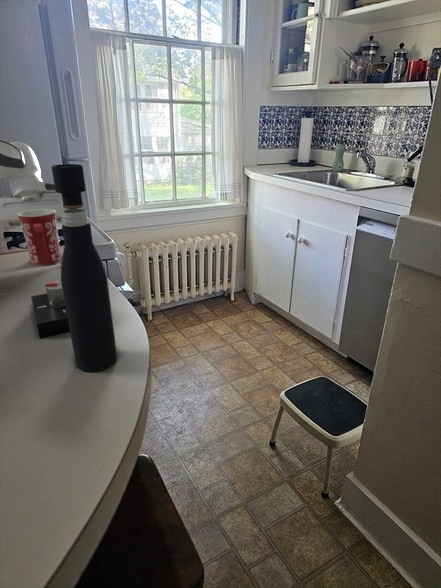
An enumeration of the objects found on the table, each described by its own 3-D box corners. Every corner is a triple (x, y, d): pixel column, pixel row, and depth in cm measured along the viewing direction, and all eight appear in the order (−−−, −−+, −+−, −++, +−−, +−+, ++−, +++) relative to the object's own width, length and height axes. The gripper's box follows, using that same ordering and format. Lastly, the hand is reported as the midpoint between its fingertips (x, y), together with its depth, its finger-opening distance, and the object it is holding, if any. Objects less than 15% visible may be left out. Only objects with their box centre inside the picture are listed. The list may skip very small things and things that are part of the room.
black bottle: (101, 376, 59) (70, 169, 47) (66, 367, 61) (28, 167, 49) (125, 354, 65) (103, 164, 52) (92, 347, 67) (64, 162, 54)
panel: (97, 326, 73) (95, 311, 72) (39, 339, 69) (36, 323, 68) (84, 299, 84) (82, 286, 82) (33, 309, 79) (30, 295, 78)
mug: (29, 258, 108) (19, 209, 102) (64, 255, 110) (56, 207, 105) (25, 274, 97) (13, 220, 91) (64, 270, 100) (55, 218, 94)
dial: (74, 297, 77) (71, 277, 76) (72, 307, 74) (69, 286, 72) (51, 299, 76) (47, 279, 75) (48, 309, 73) (43, 288, 71)
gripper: (-14, 190, 105) (-6, 234, 101) (66, 184, 114) (76, 225, 110) (-10, 203, 111) (-2, 246, 107) (66, 197, 119) (76, 236, 116)
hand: (38, 235), depth 109 cm, fingers closed
